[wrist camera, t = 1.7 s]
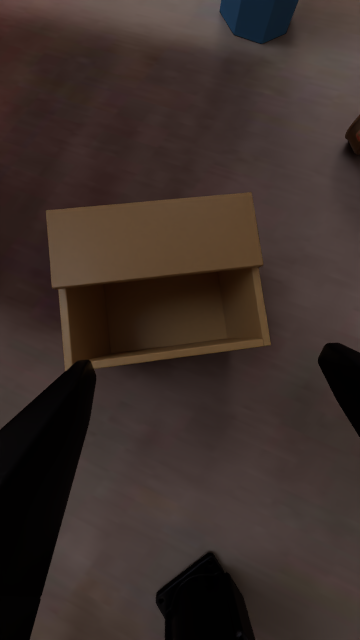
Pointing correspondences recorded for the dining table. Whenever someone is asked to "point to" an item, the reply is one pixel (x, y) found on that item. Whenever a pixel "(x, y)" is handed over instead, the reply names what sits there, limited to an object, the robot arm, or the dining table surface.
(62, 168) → the dining table surface
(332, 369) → the robot arm
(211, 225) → the bin flap
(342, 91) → the dining table surface
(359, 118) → the tin
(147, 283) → the kraft bin
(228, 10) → the water bottle
